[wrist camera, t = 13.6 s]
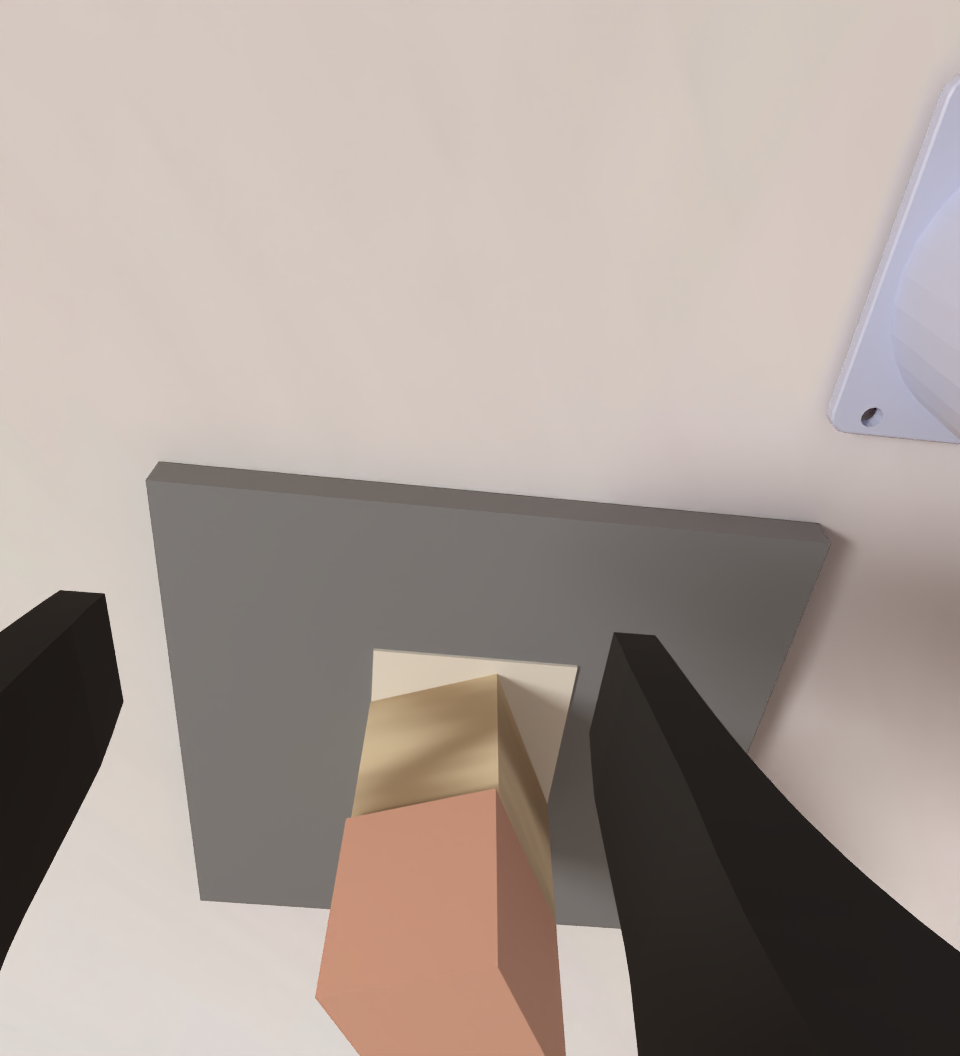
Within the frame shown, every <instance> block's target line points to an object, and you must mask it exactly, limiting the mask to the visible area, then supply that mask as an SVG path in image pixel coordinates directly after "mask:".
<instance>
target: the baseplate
mask: <svg viewBox="0 0 960 1056" xmlns="http://www.w3.org/2000/svg"><path fill="white" fill-rule="evenodd" d="M146 486H147V494H148V502H149V509H150V517H151V525H152V532H153V540H154V548H155V555H156V563H157V571H158V578H159V586H160V594H161V601H162V609H163V617H164V624H165V632H166V640H167V647H168V655H169V663H170V670H171V678H172V686H173V693H174V701H175V708H176V716H177V724H178V731H179V739H180V747H181V754H182V762H183V770H184V777H185V785H186V793H187V800H188V808H189V816H190V823H191V831H192V839H193V846H194V854H195V862H196V869H197V877H198V885H199V892H200V900H202V901H217V902H232V903H247V904H261V905H276V906H291V907H306V908H321V909H330V908H331V902H332V897H333V891H334V885H335V879H336V873H337V868H338V862H339V856H340V850H341V844H342V838H343V833H344V827H345V821H346V819H347V818H351V816H352V810H353V804H354V798H355V792H356V785H357V779H358V773H359V767H360V761H361V755H362V749H363V743H364V737H365V731H366V725H367V719H368V713H369V707H370V702H371V701H376V700H380V699H385V698H389V697H394V696H398V695H403V694H407V693H412V692H416V691H421V690H426V689H430V688H435V687H439V686H444V685H448V684H453V683H457V682H462V681H466V680H471V679H475V678H480V677H484V676H489V675H494V674H497V676H498V678H499V681H500V683H501V686H502V688H503V691H504V694H505V696H506V699H507V701H508V704H509V706H510V709H511V712H512V714H513V717H514V719H515V722H516V725H517V727H518V730H519V732H520V735H521V737H522V740H523V743H524V745H525V748H526V750H527V753H528V755H529V758H530V761H531V763H532V766H533V768H534V771H535V773H536V776H537V779H538V781H539V784H540V786H541V789H542V792H543V794H544V797H545V799H546V802H547V811H548V824H549V837H550V850H551V864H552V877H553V890H554V903H555V916H556V924H559V925H574V926H589V927H603V928H618V929H621V926H620V922H619V917H618V912H617V907H616V902H615V897H614V893H613V888H612V883H611V878H610V873H609V868H608V864H607V859H606V854H605V849H604V844H603V839H602V834H601V829H600V824H599V819H598V814H597V809H596V804H595V799H594V789H593V778H592V766H591V752H590V738H589V731H590V727H591V723H592V719H593V715H594V711H595V707H596V703H597V699H598V695H599V690H600V686H601V682H602V678H603V674H604V670H605V666H606V662H607V658H608V654H609V650H610V646H611V641H612V637H613V633H614V632H620V633H633V634H646V635H656V637H657V638H658V639H659V641H660V642H661V643H662V644H663V646H664V647H665V648H666V650H667V651H668V652H669V654H670V655H671V657H672V658H673V659H674V661H675V662H676V663H677V665H678V666H679V667H680V669H681V670H682V672H683V673H684V674H685V676H686V677H687V678H688V680H689V681H690V682H691V684H692V685H693V686H694V688H695V689H696V690H697V692H698V693H699V694H700V696H701V697H702V698H703V700H704V701H705V702H706V704H707V705H708V706H709V707H710V709H711V710H712V711H713V713H714V714H715V715H716V717H717V718H718V719H719V720H720V722H721V723H722V724H723V725H724V727H725V728H726V729H727V730H728V731H729V733H730V734H731V735H732V736H733V738H734V739H735V740H736V741H737V743H738V744H739V745H740V746H741V747H742V749H743V750H744V751H745V752H746V754H747V752H748V750H749V747H750V745H751V742H752V740H753V737H754V735H755V732H756V730H757V727H758V725H759V722H760V720H761V717H762V715H763V712H764V710H765V707H766V705H767V702H768V700H769V697H770V695H771V692H772V690H773V687H774V685H775V682H776V680H777V677H778V675H779V672H780V670H781V667H782V665H783V662H784V660H785V657H786V655H787V652H788V650H789V647H790V645H791V642H792V640H793V637H794V635H795V632H796V630H797V627H798V625H799V622H800V620H801V617H802V615H803V612H804V610H805V607H806V605H807V602H808V600H809V597H810V595H811V592H812V590H813V587H814V585H815V582H816V580H817V577H818V575H819V572H820V570H821V567H822V565H823V562H824V560H825V557H826V555H827V552H828V550H829V547H830V545H831V542H830V541H829V539H828V538H827V536H826V535H825V533H824V532H823V530H822V528H821V527H820V525H819V524H818V523H809V522H798V521H787V520H777V519H766V518H755V517H745V516H734V515H723V514H713V513H702V512H691V511H680V510H670V509H659V508H648V507H638V506H627V505H616V504H605V503H595V502H584V501H573V500H563V499H552V498H541V497H530V496H520V495H509V494H498V493H488V492H477V491H466V490H455V489H445V488H434V487H423V486H413V485H402V484H391V483H380V482H370V481H359V480H348V479H338V478H327V477H316V476H306V475H295V474H284V473H273V472H263V471H252V470H241V469H231V468H220V467H209V466H198V465H188V464H177V463H166V462H158V464H157V465H156V466H155V468H154V469H153V471H152V472H151V473H150V475H149V476H148V478H147V479H146Z"/></svg>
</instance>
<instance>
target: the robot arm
mask: <svg viewBox="0 0 960 1056" xmlns="http://www.w3.org/2000/svg"><path fill="white" fill-rule="evenodd" d="M870 408H877V410H876V413H875V414H874V416H873V417H871V418H870V419H868V420H861V417H862V415H863V414H864V412H865V411H867V410H868V409H870ZM827 417H828V420H829V422H830V423H831V424H832V425H833V426H834V427H835V428H836V429H837V430H838V431H841V432H844V433H852V434H862V435H872V436H882V437H892V438H902V439H912V440H923V441H933V442H943V443H953V444H960V74H959V75H957V76H955V77H953V78H952V79H951V80H950V81H949V82H948V83H947V84H946V85H945V87H944V89H943V91H942V93H941V95H940V97H939V100H938V103H937V105H936V108H935V111H934V114H933V117H932V119H931V122H930V125H929V128H928V130H927V133H926V136H925V139H924V142H923V144H922V147H921V150H920V153H919V156H918V158H917V161H916V164H915V167H914V169H913V172H912V175H911V178H910V181H909V183H908V186H907V189H906V192H905V195H904V197H903V200H902V203H901V206H900V208H899V211H898V214H897V217H896V220H895V222H894V225H893V228H892V231H891V233H890V236H889V239H888V242H887V245H886V247H885V250H884V253H883V256H882V259H881V261H880V264H879V267H878V270H877V272H876V275H875V278H874V281H873V284H872V286H871V289H870V292H869V295H868V298H867V300H866V303H865V306H864V309H863V311H862V314H861V317H860V320H859V323H858V325H857V328H856V331H855V334H854V336H853V339H852V342H851V345H850V348H849V350H848V353H847V356H846V359H845V362H844V364H843V367H842V370H841V373H840V375H839V378H838V381H837V384H836V387H835V389H834V392H833V395H832V398H831V401H830V403H829V406H828V411H827ZM122 704H123V696H122V690H121V685H120V679H119V673H118V667H117V662H116V656H115V650H114V644H113V638H112V633H111V627H110V621H109V615H108V610H107V604H106V598H105V594H102V593H89V592H76V591H63V590H60V591H58V592H57V593H55V594H54V595H52V596H51V597H49V598H48V599H46V600H45V601H43V602H42V603H40V604H39V605H38V606H36V607H35V608H33V609H32V610H30V611H29V612H28V613H26V614H25V615H23V616H22V617H21V618H19V619H18V620H16V621H15V622H14V623H12V624H11V625H9V626H8V627H7V628H5V629H4V630H3V631H1V632H0V970H1V968H2V965H3V963H4V960H5V957H6V955H7V952H8V950H9V948H10V946H11V943H12V941H13V939H14V937H15V935H16V933H17V930H18V928H19V926H20V924H21V922H22V920H23V918H24V915H25V913H26V911H27V910H28V908H29V906H30V904H31V902H32V900H33V898H34V896H35V894H36V892H37V890H38V888H39V886H40V884H41V882H42V880H43V878H44V877H45V875H46V873H47V871H48V869H49V867H50V865H51V863H52V861H53V859H54V857H55V855H56V853H57V851H58V849H59V847H60V845H61V844H62V842H63V840H64V838H65V836H66V834H67V832H68V830H69V828H70V826H71V824H72V822H73V820H74V818H75V816H76V814H77V812H78V810H79V808H80V806H81V804H82V803H83V801H84V799H85V797H86V795H87V793H88V791H89V789H90V787H91V785H92V783H93V781H94V779H95V777H96V775H97V773H98V770H99V768H100V766H101V764H102V761H103V758H104V756H105V753H106V750H107V747H108V745H109V742H110V739H111V737H112V734H113V731H114V728H115V725H116V722H117V719H118V716H119V713H120V710H121V707H122ZM589 738H590V752H591V766H592V778H593V789H594V799H595V804H596V809H597V814H598V819H599V824H600V829H601V834H602V839H603V844H604V849H605V854H606V859H607V864H608V868H609V873H610V878H611V883H612V888H613V893H614V897H615V902H616V907H617V912H618V917H619V922H620V926H621V931H622V936H623V941H624V946H625V952H626V958H627V964H628V970H629V976H630V984H631V993H632V1002H633V1011H634V1021H635V1030H636V1039H637V1048H638V1056H960V952H959V951H958V950H956V949H955V948H954V947H953V946H951V945H950V944H949V943H947V942H946V941H945V940H944V939H942V938H941V937H940V936H938V935H937V934H936V933H935V932H933V931H932V930H931V929H929V928H928V927H927V926H926V925H924V924H923V923H922V922H921V921H919V920H918V919H917V918H916V917H914V916H913V915H912V914H911V913H910V912H909V911H907V910H906V909H905V908H904V907H903V906H901V905H900V904H899V903H898V902H897V901H895V900H894V899H893V898H892V897H891V896H889V895H888V894H887V893H886V892H885V891H884V890H882V889H881V888H880V887H879V886H878V885H876V884H875V883H874V882H873V881H872V880H871V879H869V878H868V877H867V876H866V875H865V874H864V873H863V872H862V871H860V870H859V869H858V868H857V867H856V866H855V865H854V864H853V863H852V862H850V861H849V860H848V859H847V858H846V857H845V856H844V855H843V854H842V853H841V852H840V851H839V850H838V849H837V848H836V847H835V846H834V845H833V844H831V843H830V842H829V841H828V840H827V839H826V838H825V837H824V836H823V835H822V834H821V833H820V832H819V831H818V830H817V829H816V828H815V827H814V826H813V825H812V824H811V823H810V822H809V821H808V820H807V819H806V818H805V817H804V816H803V815H802V814H801V813H800V812H799V811H798V810H797V809H796V808H795V807H794V806H793V805H792V804H791V803H790V802H789V801H788V800H787V799H786V798H785V796H784V795H783V794H782V793H781V792H780V791H779V790H778V789H777V788H776V787H775V785H774V784H773V783H772V782H771V781H770V780H769V779H768V778H767V777H766V776H765V774H764V773H763V772H762V771H761V770H760V769H759V768H758V767H757V765H756V764H755V763H754V762H753V761H752V759H751V758H750V757H749V756H748V755H747V754H746V752H745V751H744V750H743V749H742V747H741V746H740V745H739V744H738V743H737V741H736V740H735V739H734V738H733V736H732V735H731V734H730V733H729V731H728V730H727V729H726V728H725V727H724V725H723V724H722V723H721V722H720V720H719V719H718V718H717V717H716V715H715V714H714V713H713V711H712V710H711V709H710V707H709V706H708V705H707V704H706V702H705V701H704V700H703V698H702V697H701V696H700V694H699V693H698V692H697V690H696V689H695V688H694V686H693V685H692V684H691V682H690V681H689V680H688V678H687V677H686V676H685V674H684V673H683V672H682V670H681V669H680V667H679V666H678V665H677V663H676V662H675V661H674V659H673V658H672V657H671V655H670V654H669V652H668V651H667V650H666V648H665V647H664V646H663V644H662V643H661V642H660V641H659V639H658V638H657V637H656V635H646V634H633V633H620V632H614V633H613V637H612V641H611V646H610V650H609V654H608V658H607V662H606V666H605V670H604V674H603V678H602V682H601V686H600V690H599V695H598V699H597V703H596V707H595V711H594V715H593V719H592V723H591V727H590V731H589Z"/></svg>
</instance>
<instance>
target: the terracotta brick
mask: <svg viewBox="0 0 960 1056" xmlns="http://www.w3.org/2000/svg"><path fill="white" fill-rule="evenodd" d="M315 998H316V999H317V1001H318V1002H319V1003H320V1005H321V1006H322V1007H323V1008H324V1010H325V1011H326V1012H327V1014H328V1015H329V1016H330V1017H331V1019H332V1020H333V1021H334V1023H335V1024H336V1025H337V1027H338V1028H339V1029H340V1030H341V1032H342V1033H343V1034H344V1036H345V1037H346V1038H347V1039H348V1041H349V1042H350V1043H351V1045H352V1046H353V1047H354V1049H355V1050H356V1051H357V1052H358V1054H359V1055H360V1056H566V1052H565V1038H564V1025H563V1012H562V999H561V986H560V972H559V959H558V946H557V933H556V923H555V921H554V919H553V916H552V914H551V912H550V910H549V907H548V905H547V903H546V901H545V898H544V896H543V894H542V892H541V889H540V887H539V885H538V883H537V880H536V878H535V876H534V874H533V871H532V869H531V867H530V865H529V862H528V860H527V858H526V855H525V853H524V851H523V849H522V846H521V844H520V842H519V840H518V837H517V835H516V833H515V831H514V828H513V826H512V824H511V822H510V819H509V817H508V815H507V813H506V810H505V808H504V806H503V804H502V801H501V799H500V797H499V795H498V792H497V790H496V788H495V789H490V790H485V791H480V792H475V793H470V794H465V795H460V796H455V797H450V798H445V799H440V800H435V801H430V802H425V803H421V804H416V805H411V806H406V807H401V808H396V809H391V810H386V811H381V812H376V813H371V814H366V815H361V816H356V817H351V818H347V819H346V821H345V827H344V833H343V838H342V844H341V850H340V856H339V862H338V868H337V873H336V879H335V885H334V891H333V897H332V902H331V908H330V914H329V920H328V926H327V931H326V937H325V943H324V949H323V955H322V961H321V966H320V972H319V978H318V984H317V990H316V995H315Z"/></svg>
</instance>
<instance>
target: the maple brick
mask: <svg viewBox="0 0 960 1056" xmlns="http://www.w3.org/2000/svg"><path fill="white" fill-rule="evenodd" d="M495 788H496V790H497V792H498V795H499V797H500V799H501V801H502V804H503V806H504V808H505V810H506V813H507V815H508V817H509V819H510V822H511V824H512V826H513V828H514V831H515V833H516V835H517V837H518V840H519V842H520V844H521V846H522V849H523V851H524V853H525V855H526V858H527V860H528V862H529V865H530V867H531V869H532V871H533V874H534V876H535V878H536V880H537V883H538V885H539V887H540V889H541V892H542V894H543V896H544V898H545V901H546V903H547V905H548V907H549V910H550V912H551V914H552V916H553V919H554V921H555V923H556V916H555V903H554V890H553V877H552V864H551V850H550V837H549V824H548V811H547V802H546V799H545V797H544V794H543V792H542V789H541V786H540V784H539V781H538V779H537V776H536V773H535V771H534V768H533V766H532V763H531V761H530V758H529V755H528V753H527V750H526V748H525V745H524V743H523V740H522V737H521V735H520V732H519V730H518V727H517V725H516V722H515V719H514V717H513V714H512V712H511V709H510V706H509V704H508V701H507V699H506V696H505V694H504V691H503V688H502V686H501V683H500V681H499V678H498V676H497V674H494V675H489V676H484V677H480V678H475V679H471V680H466V681H462V682H457V683H453V684H448V685H444V686H439V687H435V688H430V689H426V690H421V691H416V692H412V693H407V694H403V695H398V696H394V697H389V698H385V699H380V700H376V701H371V702H370V707H369V713H368V719H367V725H366V731H365V737H364V743H363V749H362V755H361V761H360V767H359V773H358V779H357V785H356V792H355V798H354V804H353V810H352V816H351V817H356V816H361V815H366V814H371V813H376V812H381V811H386V810H391V809H396V808H401V807H406V806H411V805H416V804H421V803H425V802H430V801H435V800H440V799H445V798H450V797H455V796H460V795H465V794H470V793H475V792H480V791H485V790H490V789H495ZM556 931H557V930H556Z"/></svg>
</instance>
